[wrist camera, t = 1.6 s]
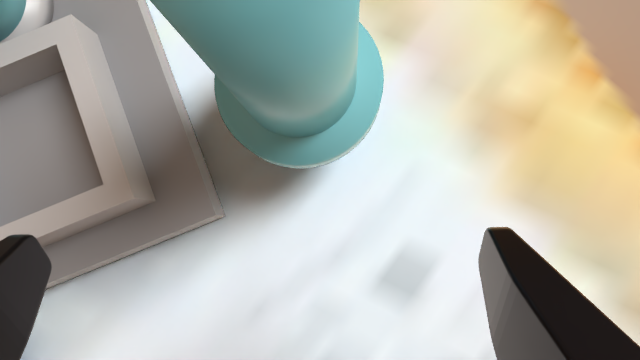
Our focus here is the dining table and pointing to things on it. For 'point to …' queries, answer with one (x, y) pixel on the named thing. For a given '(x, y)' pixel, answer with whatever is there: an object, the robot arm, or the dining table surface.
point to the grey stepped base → (94, 134)
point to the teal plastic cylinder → (286, 73)
